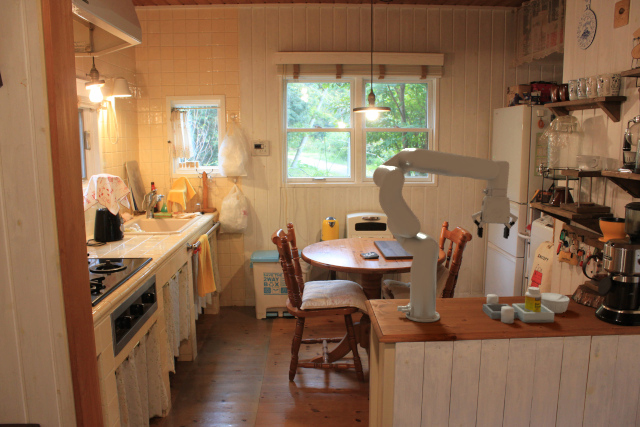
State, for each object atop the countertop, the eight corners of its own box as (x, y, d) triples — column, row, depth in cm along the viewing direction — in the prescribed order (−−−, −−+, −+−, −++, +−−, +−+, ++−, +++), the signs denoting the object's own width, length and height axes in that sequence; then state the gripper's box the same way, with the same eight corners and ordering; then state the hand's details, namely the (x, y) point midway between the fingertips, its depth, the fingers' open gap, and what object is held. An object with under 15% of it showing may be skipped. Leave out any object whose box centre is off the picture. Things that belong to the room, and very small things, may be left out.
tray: (523, 322, 176) (524, 313, 175) (511, 312, 186) (512, 303, 186) (553, 322, 176) (554, 312, 175) (539, 312, 187) (540, 303, 186)
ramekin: (573, 315, 183) (573, 301, 183) (541, 313, 185) (542, 300, 184) (563, 305, 194) (563, 293, 193) (533, 304, 196) (534, 292, 195)
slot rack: (496, 323, 175) (497, 310, 174) (478, 306, 194) (478, 294, 193) (522, 323, 175) (523, 309, 174) (502, 305, 194) (502, 293, 193)
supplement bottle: (534, 318, 177) (536, 291, 176) (521, 313, 182) (522, 287, 180) (543, 315, 180) (545, 288, 179) (530, 311, 185) (531, 285, 183)
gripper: (476, 193, 179) (473, 238, 181) (523, 194, 178) (519, 240, 181) (470, 191, 186) (467, 235, 188) (515, 193, 186) (511, 237, 188)
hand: (492, 237), depth 184 cm, fingers open, 9 cm apart
